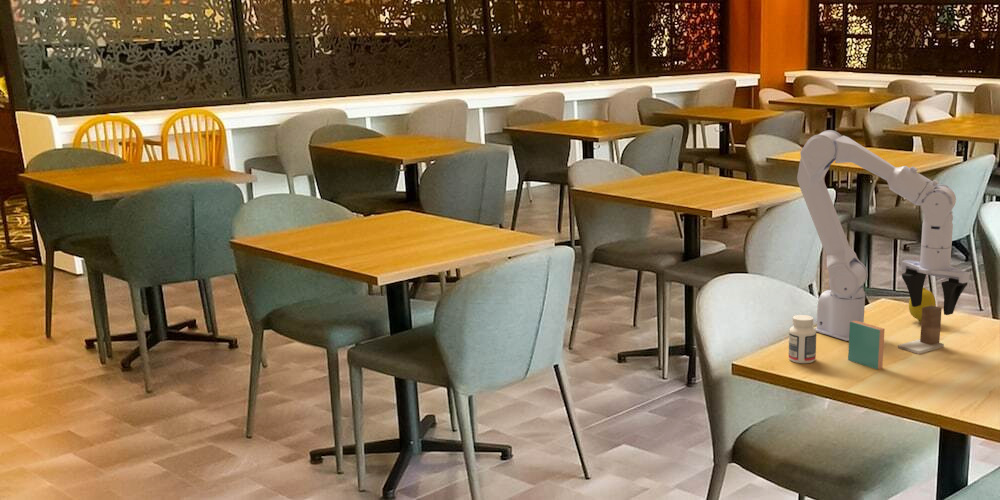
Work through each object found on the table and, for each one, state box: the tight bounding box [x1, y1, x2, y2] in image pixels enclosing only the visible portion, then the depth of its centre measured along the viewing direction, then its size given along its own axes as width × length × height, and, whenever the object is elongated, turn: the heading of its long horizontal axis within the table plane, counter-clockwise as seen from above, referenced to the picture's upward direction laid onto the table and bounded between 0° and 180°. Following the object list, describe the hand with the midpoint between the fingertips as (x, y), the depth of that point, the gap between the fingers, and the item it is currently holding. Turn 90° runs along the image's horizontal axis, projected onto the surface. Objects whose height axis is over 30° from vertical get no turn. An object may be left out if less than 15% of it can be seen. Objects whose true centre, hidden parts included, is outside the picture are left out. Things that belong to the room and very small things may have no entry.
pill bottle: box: [788, 314, 817, 364], centre depth 207 cm, size 5×5×9 cm
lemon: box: [908, 287, 937, 323], centre depth 229 cm, size 6×6×8 cm
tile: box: [847, 320, 885, 370], centre depth 204 cm, size 7×2×8 cm, turn 32°
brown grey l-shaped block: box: [897, 305, 945, 355], centre depth 213 cm, size 5×8×8 cm, turn 122°
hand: (932, 309), depth 213 cm, fingers open, 7 cm apart
